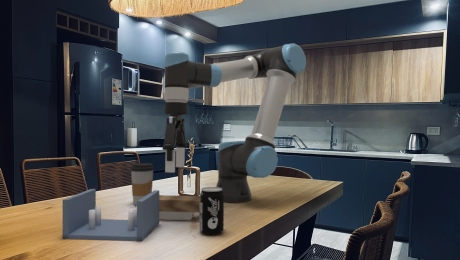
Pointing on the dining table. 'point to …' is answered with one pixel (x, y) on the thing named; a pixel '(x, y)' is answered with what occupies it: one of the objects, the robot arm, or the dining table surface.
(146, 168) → the coffee cup
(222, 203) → the beverage can
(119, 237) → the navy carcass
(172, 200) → the walnut board
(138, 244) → the dining table surface
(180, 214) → the block
